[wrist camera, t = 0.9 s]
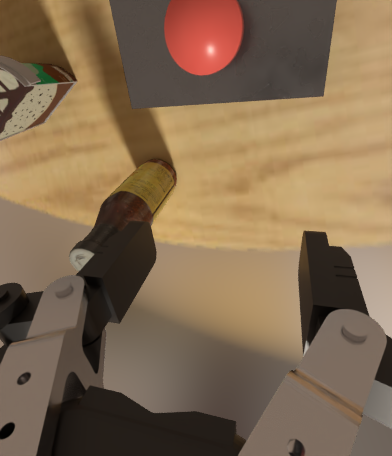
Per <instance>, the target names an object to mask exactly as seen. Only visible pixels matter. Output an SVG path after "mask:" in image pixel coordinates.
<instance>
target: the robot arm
mask: <svg viewBox="0 0 392 456" xmlns="http://www.w3.org/2000/svg"><path fill="white" fill-rule="evenodd" d="M155 261H156V247H155V243H154V238H153V234H152V229H151V225H150V223H149V222H146V221H130V222H129V223H128V224H127V225H126V226H125V228H124V229H123V230H122V231H119V232H117V233H116V234H114V235H113V236H111V237H109V238H108V240H107V241H106V242H105V243H104V244H103V245H102V247H100V249H99V250H98V251H97V253H95V254H94V255H93V256H92V257H91V259H90V260H89V261H88V262H87V263H86V264H85V265H84V266H83V268H82V269H81V270H80V271H79V272H78V273H77V274H76V275H71V276H65V277H62V278H60V279H57V280H56V281H54V282H52V283H51V284H50V285H49V286H48V287H47V288H46V289H45V290H44V291H42V292H34V293H27V294H26V293H25V291H24V290H23V288H22V286H21V285H20V284H17V283H8V284H4V285H1V286H0V339H1V341H2V342H3V343H4V345H3V346H2V347H1V348H0V456H350V453H351V450H352V447H353V444H354V441H355V438H356V435H357V432H358V429H359V426H360V424H361V420H362V416H363V415H362V414H364V415H366V416H368V417H370V418H372V419H374V420H376V421H378V422H379V423H381V424H383V425H385V426H387V427H389V428H391V429H392V339H391V338H390V337H389V336H387V335H386V334H385V332H384V331H383V329H382V328H381V326H380V325H379V324H378V323H377V322H376V321H375V320H374V319H372V318H371V317H370V316H369V313H368V311H367V307H366V304H365V301H364V298H363V295H362V291H361V288H360V285H359V282H358V279H357V275H356V272H355V270H354V266H353V263H352V260H351V257H350V256H349V255H348V253H347V252H346V251H345V250H344V249H343V248H342V247H336V246H329V243H328V239H327V235H326V232H316V231H304V232H303V237H302V245H301V252H300V260H299V270H298V281H299V297H300V312H301V327H302V344H303V356H304V357H303V358H302V360H301V362H300V364H299V365H298V367H297V368H296V370H295V371H293V370H291V371H290V372H289V373H288V374H287V375H286V377H285V378H284V380H283V381H282V383H281V385H280V387H279V388H278V390H277V392H276V393H275V395H274V396H273V398H272V400H271V402H270V403H269V405H268V406H267V408H266V410H265V411H264V413H263V415H262V416H261V418H260V420H259V421H258V423H257V425H256V426H255V428H254V430H253V431H252V433H251V434H250V436H249V438H248V440H245V439H244V438H242V437H240V436H239V435H237V434H236V421H232V420H228V419H224V418H220V417H216V416H212V415H208V414H204V413H200V412H195V411H193V412H174V413H152V412H150V411H148V410H147V409H145V408H144V407H142V406H140V405H139V404H138V403H136V402H134V401H133V400H131V399H130V398H128V397H127V396H125V395H124V394H122V393H119V392H115V391H111V390H106V389H104V385H103V372H104V359H105V346H106V330H105V326H106V325H107V323H108V322H113V323H120V322H121V320H122V319H123V317H124V315H125V314H126V312H127V310H128V308H129V307H130V305H131V303H132V302H133V300H134V298H135V296H136V295H137V293H138V291H139V290H140V288H141V286H142V284H143V283H144V281H145V279H146V277H147V276H148V274H149V272H150V270H151V269H152V267H153V265H154V263H155Z"/></svg>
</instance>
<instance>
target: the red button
mask: <svg viewBox="0 0 392 456" xmlns="http://www.w3.org/2000/svg"><path fill="white" fill-rule="evenodd" d="M164 32H165V40H166V44H167V47H168V50H169V52H170V54H171V56H172V58H173V59H174V60H175V62H176V63H177V64H178V65H179V66H180V67H181V68H182V69H184V70H185V71H187V72H189V73H191V74H195V75H209V74H212V73H215V72H217V71H219V70H221V69H223V68H225V67H226V66H227V65H228V64H229V63H231V61H232V60H233V59H234V58H235V56H236V55H237V53H238V51H239V49H240V46H241V43H242V40H243V34H244V19H243V13H242V10H241V7H240V5H239V2H238V1H237V0H171V1H170V3H169V5H168V8H167V11H166V15H165V22H164Z"/></svg>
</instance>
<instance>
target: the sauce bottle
mask: <svg viewBox="0 0 392 456" xmlns="http://www.w3.org/2000/svg"><path fill="white" fill-rule="evenodd" d="M176 180H177V178H176V174H175V172H174V171H173V169H172V168H171V166H170V165H169V164H167V163H166V162H164V161H161V160H157V159H152V160H149V161H147V162H146V163H144V164H142V165H140V166H139V167H138V168H137V169H136V170H135V171H134V172H133V173H132V174H131V175H130V176H129V177H128V178H127V179H126V180H125V181H124V182H123V183H122V184H121V185H120V186H119V187H118V188H117V189H116V190H115V191H114V192H113V193H112V194H111V195H110V196H109V197H108V198H107V199H106V200H105V201H104V202H103V204H102V205H101V208H100V211H99V214H98V217H97V220H96V223H95V226H94V228H93V229H92V231H91V232H90V233H89V235H87V237H85V238H84V240H83V241H80V242H78V243H77V244H76V246H75V247H74V248H73V249H72V250H71V252H70V255H69V257H70V262H71V264H72V265H73V267H74V268H75V269H76V270H77V271H80V270H81V269H82V268H83V266H84V265H85V264H86V263H87V262H88V261H89V260H90V259H91V257H92V256H93V255H94V254H95V253H97V251H98V250H99V249H100V247H102V245H103V244H104V243H105V242H106V241H107V240H108V238H109V237H111V236H113V235H114V234H116V233H117V232H119V231H122V230H123V229H124V228H125V226H126V225H127V224H128V223H129V222H130V221H146V222H149V223H150V225H152V224H153V222H154V221H155V219H156V218H157V216H158V215H159V213H160V212H161V210H162V209H163V207H164V206H165V204H166V203H167V201H168V200H169V198H170V196H171V195H172V193H173V192H174V189H175V186H176Z"/></svg>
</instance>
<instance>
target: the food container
mask: <svg viewBox="0 0 392 456" xmlns="http://www.w3.org/2000/svg"><path fill="white" fill-rule="evenodd" d="M76 83H77V80H76V79H75V78H74V77H73V76H72V75H71V74H70V73H68V72H67V71H65V70H64V69H62V68H61V67H58V66H55V65H52V64H33V63H20V62H18V61H16V60H14V59H11V58H9V57H5V56H0V141H1V140H4V139H6V138H9V137H11V136H14V135H16V134H19V133H21V132H24V131H26V130H29V129H31V128H34V127H36V126H39V125H41V124H44V123H45V122H46V121H47V120H48V118H49V117H50V116H51V115H52V113H53V112H54V111H55V110H56V108H57V107H58V106H59V104H60V103H61V102H62V101H63V99H64V98H65V97H66V95H67V94H68V93H69V92H70V90H71V89H72V88H73V86H74V85H75V84H76Z"/></svg>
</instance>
